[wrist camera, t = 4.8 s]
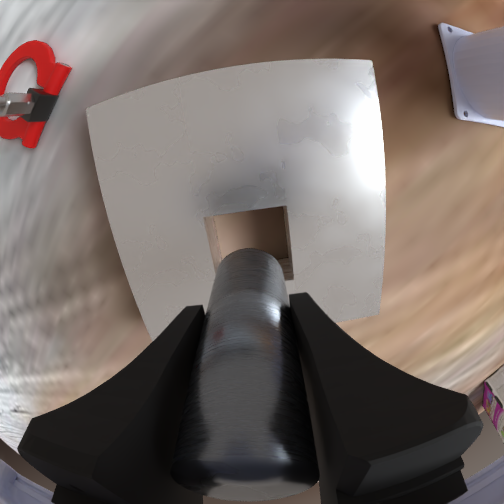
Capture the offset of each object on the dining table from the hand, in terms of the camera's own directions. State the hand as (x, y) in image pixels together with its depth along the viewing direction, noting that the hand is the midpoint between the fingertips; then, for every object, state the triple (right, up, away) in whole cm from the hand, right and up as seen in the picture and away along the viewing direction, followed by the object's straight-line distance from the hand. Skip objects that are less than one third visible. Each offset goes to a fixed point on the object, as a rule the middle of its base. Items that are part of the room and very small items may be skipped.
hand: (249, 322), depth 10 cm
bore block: (0, +6, +8) cm, 10 cm away
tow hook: (-18, +15, +4) cm, 24 cm away
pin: (0, +1, +3) cm, 3 cm away
